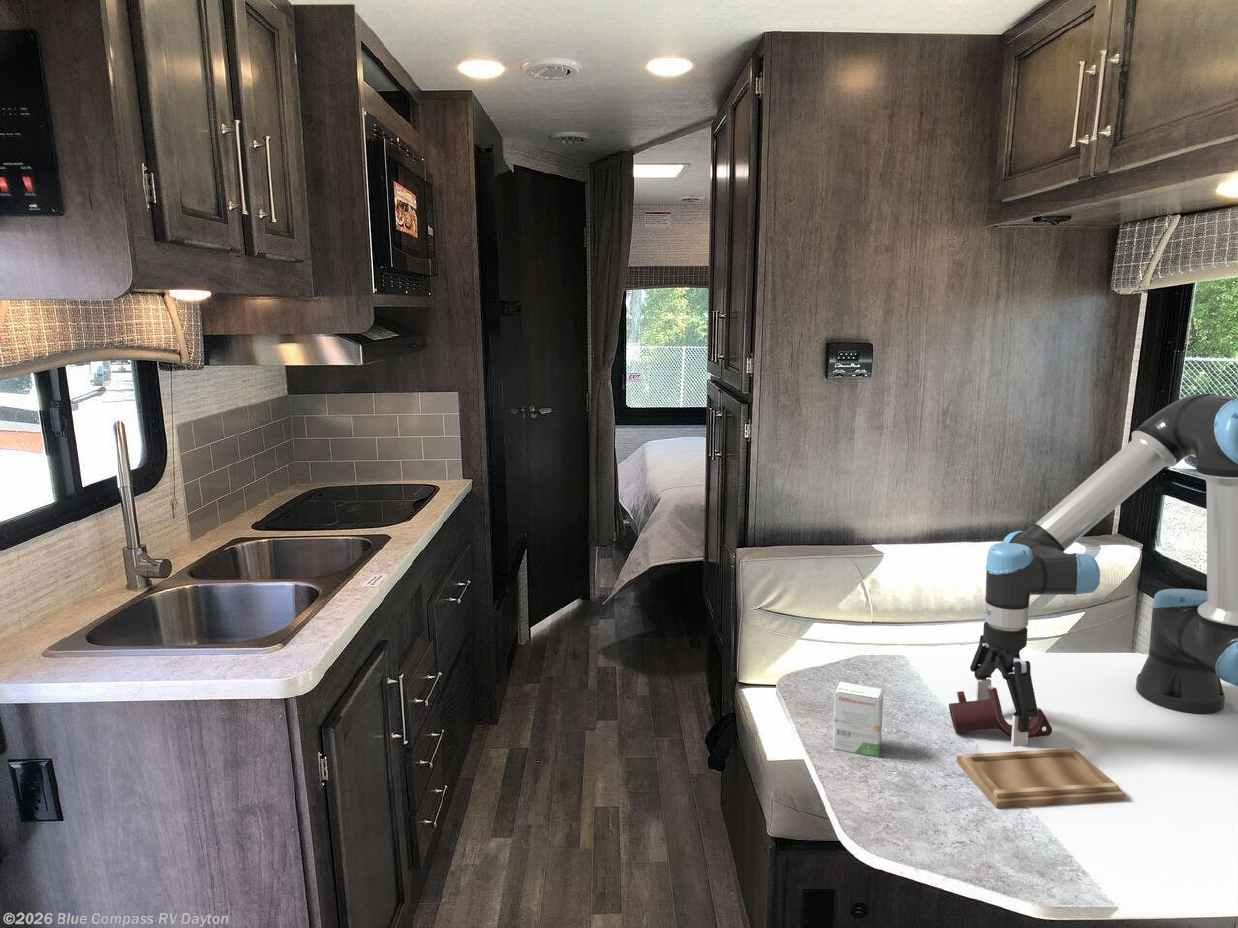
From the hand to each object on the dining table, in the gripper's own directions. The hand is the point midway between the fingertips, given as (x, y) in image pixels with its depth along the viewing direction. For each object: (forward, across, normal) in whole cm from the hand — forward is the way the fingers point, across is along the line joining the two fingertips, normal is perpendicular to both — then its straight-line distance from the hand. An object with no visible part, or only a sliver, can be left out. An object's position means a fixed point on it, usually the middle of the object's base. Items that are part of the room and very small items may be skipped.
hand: (999, 726), depth 152 cm
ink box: (+2, +2, -29) cm, 29 cm away
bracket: (+2, 0, 0) cm, 2 cm away
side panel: (+1, +16, -2) cm, 16 cm away
